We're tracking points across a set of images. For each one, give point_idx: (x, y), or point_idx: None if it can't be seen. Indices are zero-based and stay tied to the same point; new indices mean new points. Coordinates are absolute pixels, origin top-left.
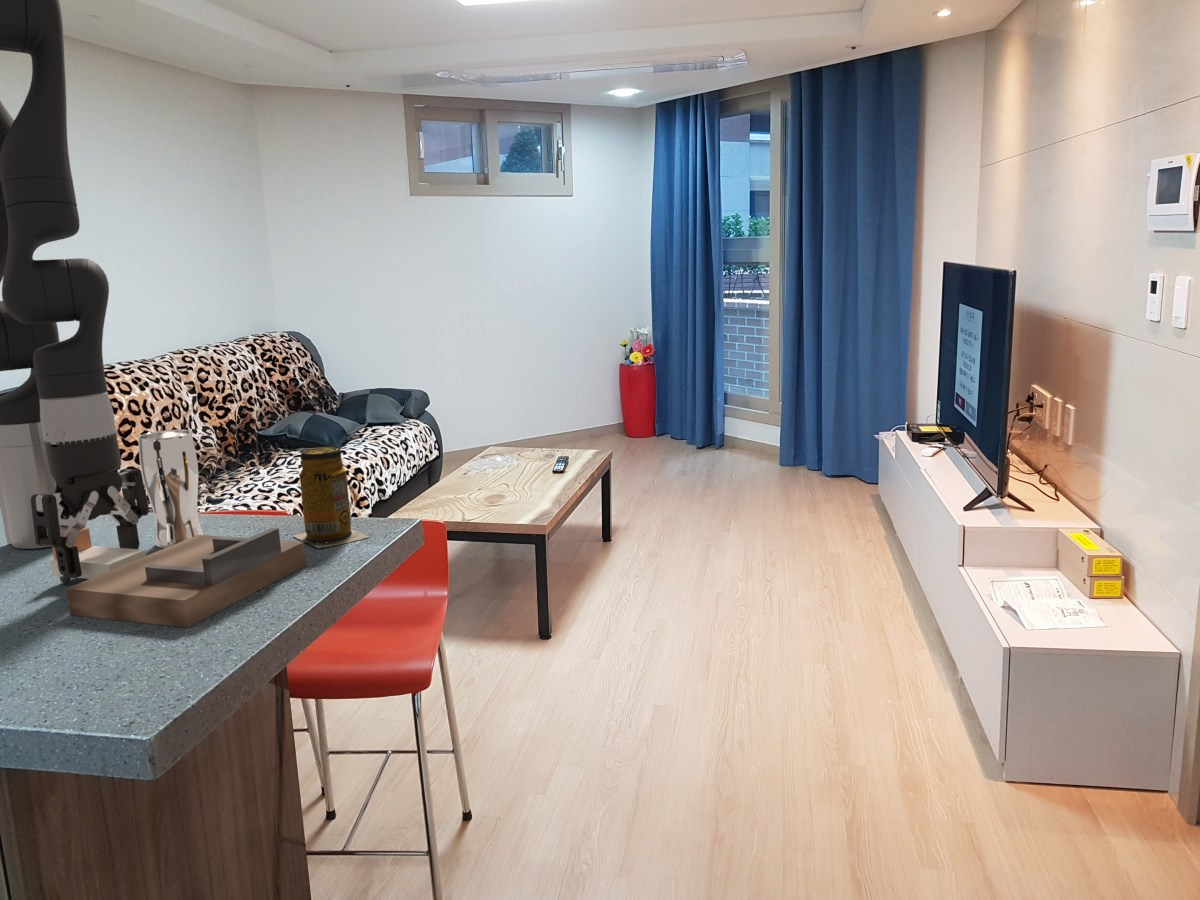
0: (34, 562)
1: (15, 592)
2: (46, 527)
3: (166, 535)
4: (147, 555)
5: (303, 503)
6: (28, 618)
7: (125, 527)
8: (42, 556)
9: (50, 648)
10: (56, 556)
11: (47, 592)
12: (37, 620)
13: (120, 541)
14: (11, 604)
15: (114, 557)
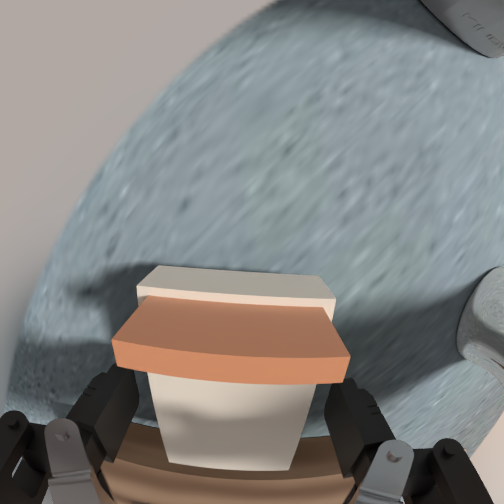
0: (342, 23)
1: (101, 187)
2: (14, 467)
3: (477, 340)
4: (258, 480)
5: (443, 499)
6: (39, 351)
7: (349, 465)
8: (385, 19)
9: (33, 422)
10: (73, 406)
11: (121, 283)
12: (44, 370)
13: (344, 409)
14: (51, 259)
15: (216, 454)
